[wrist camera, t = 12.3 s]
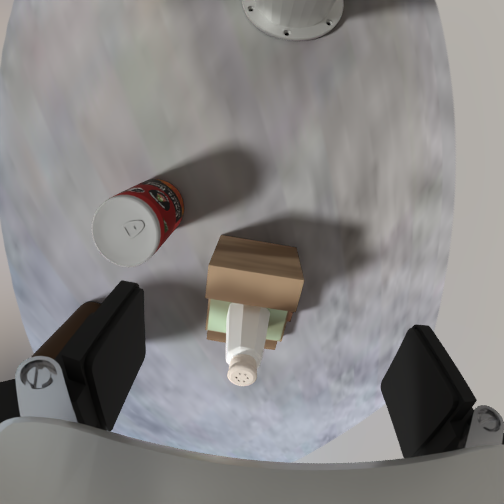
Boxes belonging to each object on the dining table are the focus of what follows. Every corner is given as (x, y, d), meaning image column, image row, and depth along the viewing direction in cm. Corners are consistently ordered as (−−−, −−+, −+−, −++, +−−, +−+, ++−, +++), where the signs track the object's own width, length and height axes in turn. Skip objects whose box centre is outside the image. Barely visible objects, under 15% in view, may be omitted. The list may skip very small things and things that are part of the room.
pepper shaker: (242, 287, 36) (233, 347, 26) (279, 310, 37) (282, 373, 27) (217, 318, 38) (203, 380, 28) (253, 339, 39) (249, 403, 29)
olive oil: (86, 347, 50) (23, 446, 27) (67, 298, 46) (-19, 394, 23) (135, 350, 49) (78, 467, 26) (117, 297, 45) (33, 413, 22)
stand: (221, 234, 41) (208, 264, 32) (300, 248, 41) (309, 281, 32) (209, 327, 46) (198, 369, 38) (278, 338, 47) (280, 381, 38)
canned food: (197, 208, 40) (174, 236, 29) (156, 245, 42) (125, 281, 32) (158, 165, 38) (122, 178, 27) (120, 205, 40) (79, 230, 30)
